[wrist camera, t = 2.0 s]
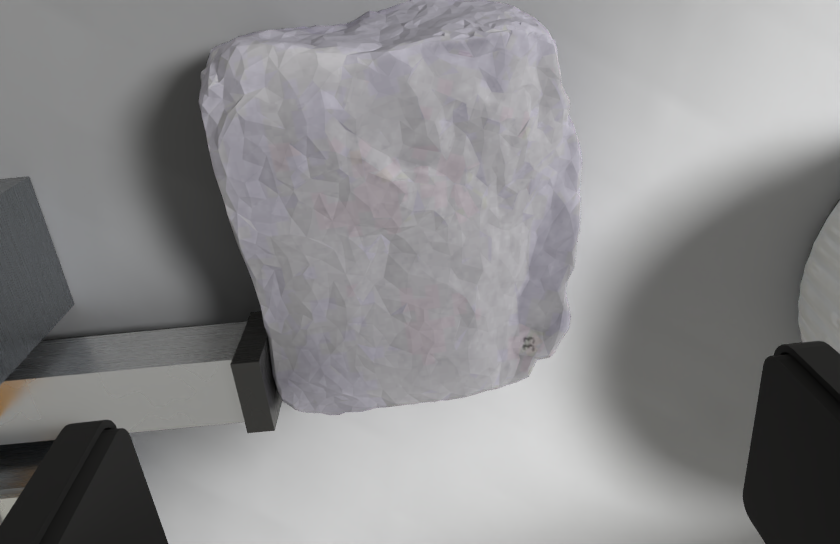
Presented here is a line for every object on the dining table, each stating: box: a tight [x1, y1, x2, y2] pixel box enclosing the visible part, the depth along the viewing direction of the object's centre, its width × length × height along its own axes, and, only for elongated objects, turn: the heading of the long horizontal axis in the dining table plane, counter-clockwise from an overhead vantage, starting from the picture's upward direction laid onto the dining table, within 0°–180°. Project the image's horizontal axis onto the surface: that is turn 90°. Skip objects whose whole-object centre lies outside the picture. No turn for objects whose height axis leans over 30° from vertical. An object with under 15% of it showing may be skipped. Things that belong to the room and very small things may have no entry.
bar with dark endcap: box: [0, 311, 282, 445], centre depth 19 cm, size 11×2×6 cm, turn 95°
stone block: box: [199, 0, 582, 415], centre depth 20 cm, size 12×5×10 cm
